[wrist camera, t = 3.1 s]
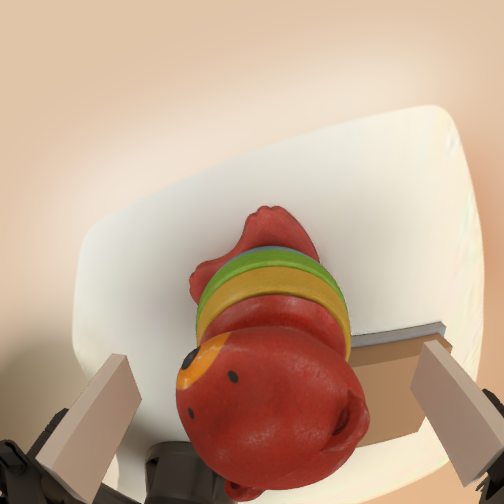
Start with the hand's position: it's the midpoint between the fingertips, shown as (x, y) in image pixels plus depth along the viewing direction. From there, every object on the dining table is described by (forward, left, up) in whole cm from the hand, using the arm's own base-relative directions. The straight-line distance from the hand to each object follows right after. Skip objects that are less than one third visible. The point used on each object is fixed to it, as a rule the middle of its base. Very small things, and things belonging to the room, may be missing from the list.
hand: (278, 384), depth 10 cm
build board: (+11, -13, -13) cm, 22 cm away
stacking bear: (0, 0, -13) cm, 13 cm away
